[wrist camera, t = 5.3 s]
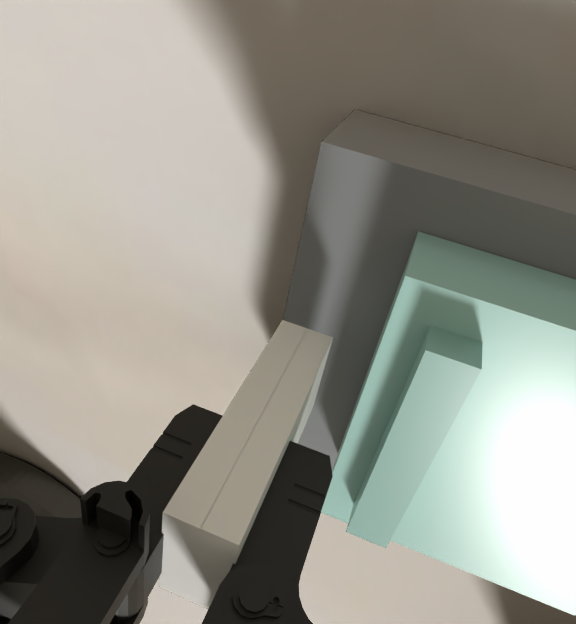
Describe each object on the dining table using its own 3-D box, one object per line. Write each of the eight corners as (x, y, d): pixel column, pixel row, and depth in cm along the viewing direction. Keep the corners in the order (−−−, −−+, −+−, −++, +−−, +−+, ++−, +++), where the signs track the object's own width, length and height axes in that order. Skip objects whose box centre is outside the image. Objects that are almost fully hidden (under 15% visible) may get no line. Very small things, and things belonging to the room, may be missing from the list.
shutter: (337, 454, 19) (309, 538, 16) (418, 231, 13) (398, 298, 11) (564, 542, 17) (579, 650, 15) (752, 333, 12) (830, 441, 9)
